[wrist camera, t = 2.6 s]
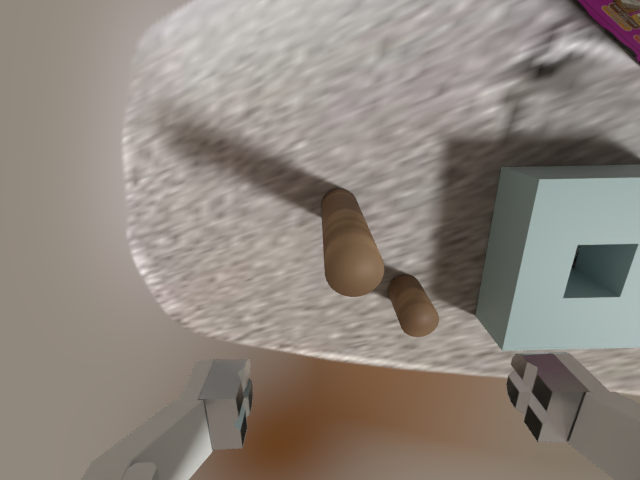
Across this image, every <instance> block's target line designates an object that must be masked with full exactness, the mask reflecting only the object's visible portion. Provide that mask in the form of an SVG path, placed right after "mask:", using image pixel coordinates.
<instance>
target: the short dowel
mask: <svg viewBox="0 0 640 480" xmlns="http://www.w3.org/2000/svg"><path fill="white" fill-rule="evenodd" d="M388 294H389V297H390V300H391V302H392V305H393V307H394V310H395V312H396V315H397V317H398V320H399V323H400V325H401V328H402V330H403V331H404V332H405V333H406V334H408V335H410V336H413V337H422V336H426V335H428V334H430V333H431V332H433V331H434V330H435V328H436V327H437V325H438V322H439V316H438V313H437V311H436V310H435V308H434V306H433V304H432V303H431V301H430V299H429V298H428V296H427V294H426V293H425V291H424V289H423V288H422V286H421V284H420V283H419V281H418V280H417V279H416V278H415V277H413V276H411V275H400V276H398V277H396V278H394V279H393V280H392V281H391V282H390V284H389V286H388Z"/></svg>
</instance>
